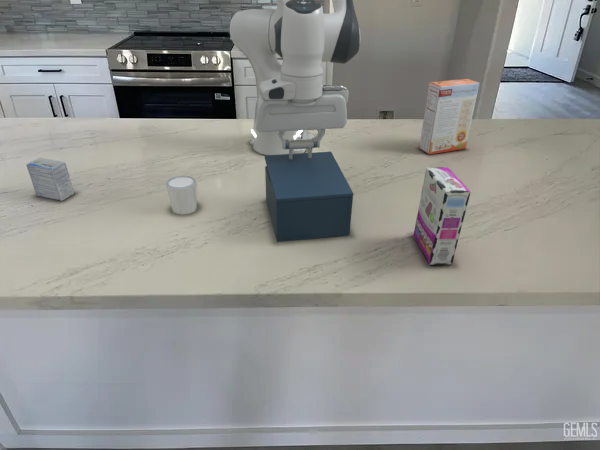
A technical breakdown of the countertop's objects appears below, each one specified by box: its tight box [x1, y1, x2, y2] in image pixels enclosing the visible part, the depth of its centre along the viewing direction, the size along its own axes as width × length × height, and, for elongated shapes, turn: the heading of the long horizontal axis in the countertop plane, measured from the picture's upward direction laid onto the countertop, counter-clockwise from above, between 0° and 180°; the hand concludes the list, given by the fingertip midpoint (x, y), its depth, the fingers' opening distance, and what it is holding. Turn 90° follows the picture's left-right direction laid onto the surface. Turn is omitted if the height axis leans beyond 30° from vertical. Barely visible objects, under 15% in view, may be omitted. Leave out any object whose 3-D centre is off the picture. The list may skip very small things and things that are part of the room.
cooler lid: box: [264, 139, 354, 202], centre depth 95 cm, size 19×16×5 cm
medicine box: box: [25, 157, 75, 202], centre depth 107 cm, size 8×4×9 cm, turn 71°
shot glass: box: [165, 175, 198, 215], centre depth 103 cm, size 7×7×7 cm
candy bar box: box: [412, 166, 472, 266], centre depth 88 cm, size 11×5×16 cm, turn 5°
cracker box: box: [419, 78, 480, 155], centre depth 134 cm, size 14×6×21 cm, turn 111°
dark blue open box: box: [264, 165, 354, 243], centre depth 100 cm, size 18×16×10 cm
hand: (300, 147), depth 100 cm, fingers closed on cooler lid, 5 cm apart
